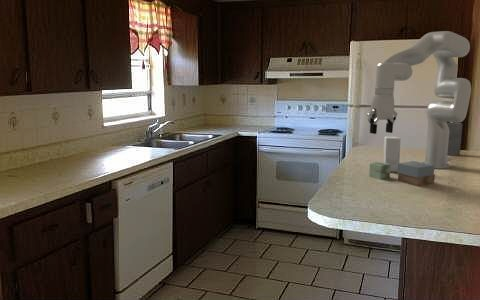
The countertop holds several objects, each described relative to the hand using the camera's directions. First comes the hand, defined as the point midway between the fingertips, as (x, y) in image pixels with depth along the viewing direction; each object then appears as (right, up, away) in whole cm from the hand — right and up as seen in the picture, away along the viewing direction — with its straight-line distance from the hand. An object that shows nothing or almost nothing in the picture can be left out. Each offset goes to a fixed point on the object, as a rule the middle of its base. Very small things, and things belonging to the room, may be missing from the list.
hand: (381, 133), depth 192 cm
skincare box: (+10, -17, +17) cm, 26 cm away
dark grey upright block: (+54, -10, +58) cm, 80 cm away
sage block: (0, -19, +4) cm, 19 cm away
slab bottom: (+13, -21, -5) cm, 25 cm away
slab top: (+12, -17, -6) cm, 22 cm away
